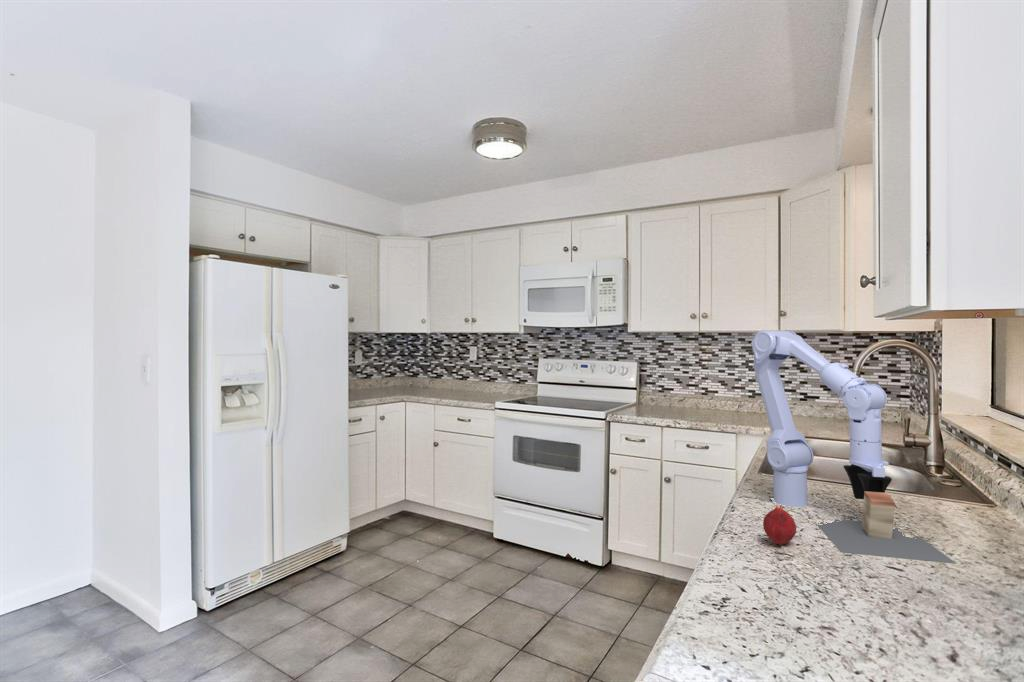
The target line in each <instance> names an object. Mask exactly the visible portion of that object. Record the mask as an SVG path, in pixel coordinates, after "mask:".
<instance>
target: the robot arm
mask: <svg viewBox="0 0 1024 682" xmlns="http://www.w3.org/2000/svg"><path fill="white" fill-rule="evenodd" d="M750 345H751V349H752V352H753V369H754V373H755V377H756V380H757V384H758V387H759V392H760V394H761V400H762V402H763V406H764V410H765V414H766V416H767V417H766V418H767V420H768V424H769V427H770V431H771V433H770V435H769V436H768V438H767V439H766V441H765V444H766V447H767V450H766V457H767V461H768V463H769V465H770V466H771V469H772V471H773V476H772V485H773V487H772V490H773V496H774V500H775V502H776V503H778V504H781V505H785V506H791V507H804V506H807V504H808V471H809V466H810V465H811V464H813V462H814V457H815V455H814V452H813V449H812V447H811V446H810V445H809V444H808V442H807V439H806V437H805V435H804V434H803V433H801V432H800V431H798V429H796V426H795V422H794V418H793V415H792V412H791V409H790V405H789V402H788V398H787V396H786V391H785V388H784V385H783V382H782V377H781V374H780V372H779V368H780V367H781V366H782V364H784V362H786V361H787V360H788V359H789V358H790V357H791V356H792V357H794V358H796V359H797V360H798V361H800V362H801V363H803V364H804V365H806V366H807V367H808V368H810V369H812V370H814V371H815V372H816V373H818V375H819V381H820V382H821V383H822V384H824V385H825V386H826V387H827V388H829V389H830V390H831V391H832V392H834V393H835V394H837V396H839V397H840V398H842V402H843V405H844V406H845V408H846V410H847V413H848V414H847V416H848V417H849V419H848V420H849V458H848V461H849V464H850V465H848V464H846V465H844V464H843V469H844V470H845V472H846V474H847V476H848V480H849V481H850V484H851V486H850V487H851V489H852V493H853V496H854V499H856V500H864V491H868V492H883V493H886V490H887V488H888V487H889V485H890V484H891V482H892V481H893V479H892V477H891V476H888V475H886V473H885V472H886V470H885V467H886V466H887V467H888V466H889V462H888V461H886V460H883V446H882V445H883V444H882V442H883V441H882V438H883V437H882V435H883V434H882V409H883V408H884V407H886V404H887V401H888V398H887V397H888V396H887V393H886V391H885V390H884V389H883V388H882V387H881V386H880V385H879V384H876V383H868V382H867V379H865V378H864V377H860V376H858V375H856V373H854V372H853V371H852V370H850V369H849V368H850V366H849V365H847V364H846V363H839V362H830V361H829V360H827V359H826V358H825V357H824V356H823V355H822V354H820V353H819V352H817V351H816V350H815V349H814V348H813V347H812V346H811V345H809V344H808V343H807V342H806V341H805V340H804V339H803V337H802V336H800V335H798V334H797V333H795V332H794V331H792V330H789V329H788V330H787V329H786V330H773V329H772V330H769V329H761V330H760V331H758V332H757V333H756V334H755V336H754V337H753V339H752V341H751V343H750ZM884 466H885V467H884ZM773 496H772V497H773Z"/></svg>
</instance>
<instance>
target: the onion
mask: <svg viewBox="0 0 1024 682" xmlns="http://www.w3.org/2000/svg"><path fill="white" fill-rule="evenodd" d="M782 507H783V506H782V505H780V504H778V505H776V507H775V508H774V509H772V510H770V511H769V512H768V513H767V514H766V515H765V516H764V517H763V522H762V526H763V530H764V533H765V535H766V536H767V537H768V539H770V540H771V541H772V542H773V543H774V544H775V545H777V544H778V545H777V546H779V545H781V546H783V545H785V544H787V543H788V542H791V541H792V540H793V538H794V537H795V536H796V534H797V525H796V521H795V519H794V518H793V517H792V516H791V514H790V513H789V512H788V511H786V510H785V509H784V508H782Z"/></svg>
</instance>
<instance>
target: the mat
mask: <svg viewBox="0 0 1024 682" xmlns="http://www.w3.org/2000/svg"><path fill="white" fill-rule="evenodd" d="M838 519H839V518H837V520H835V521H834V522H832V523H827V522H826V523H827V524H823V523H820V524H823V525H817V527H818V528H819V529H820V530H821V531H822V533H823V534H824V535H825V536H826V537H827V538H828V539H829V541H830V542H831V543H832V544H833V546H835V547H836V548H837V549H838V551H839V553H842V554H853V555H861V556H871V557H872V556H873V557H882V558H893V559H902V560H904V559H905V560H913V561H924V562H934V563H944V564H955V565H957V562H955V561H954V560H953V559H952V558H950V557H949V556H947V555H946V554H944V553H943V552H942V551H941V550H939V549H937V547H935V546H934V545H932V544H931V543H930V542H928V541H926V540H925V539H924V538H922V537H921V536H920V537H913V538H909V537H905V535H904V536H903V535H902V532H900V531H898V528H895V529H893V531H892V539H887V538H876V537H868V535H867V533H866V532H865V530H864V529H863V527H862V520H852V519H841V520H842V521H840V522H837V521H838ZM818 524H819V523H818ZM914 536H915V535H914ZM915 538H916V539H915Z"/></svg>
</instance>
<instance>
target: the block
mask: <svg viewBox="0 0 1024 682" xmlns="http://www.w3.org/2000/svg"><path fill="white" fill-rule="evenodd" d="M895 506H896V503H895V500H894V499H893V498H892V497H891V496H890V495H889V493H888V492H885V493H883V492H868V491H864V499H863V507H862V516H861V517H862V520H861V521H862V527H863V529H864V530H865V532H866V533H867V535H868V537H876V538H887V539H892V531H893V524H894V521H895V520H894V519H895V518H894V516H895Z"/></svg>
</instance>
